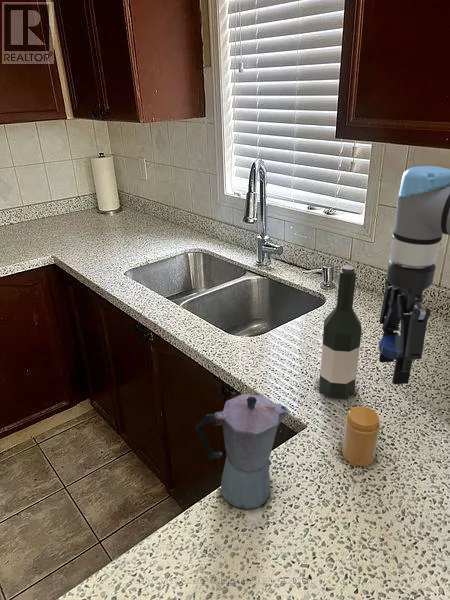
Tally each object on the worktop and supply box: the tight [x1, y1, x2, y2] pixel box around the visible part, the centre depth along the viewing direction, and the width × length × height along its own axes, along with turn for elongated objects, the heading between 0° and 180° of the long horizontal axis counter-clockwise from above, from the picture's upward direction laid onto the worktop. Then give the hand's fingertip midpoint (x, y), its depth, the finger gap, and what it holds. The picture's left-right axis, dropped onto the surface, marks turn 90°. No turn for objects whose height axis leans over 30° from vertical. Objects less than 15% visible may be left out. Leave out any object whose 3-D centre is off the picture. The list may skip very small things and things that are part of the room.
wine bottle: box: [318, 264, 363, 400], centre depth 96 cm, size 8×8×30 cm
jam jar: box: [341, 405, 381, 467], centre depth 83 cm, size 6×6×9 cm
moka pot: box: [194, 393, 291, 510], centre depth 74 cm, size 10×15×20 cm, turn 107°
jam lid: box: [378, 334, 401, 361], centre depth 84 cm, size 6×6×2 cm
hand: (393, 371), depth 87 cm, fingers closed on jam lid, 6 cm apart
